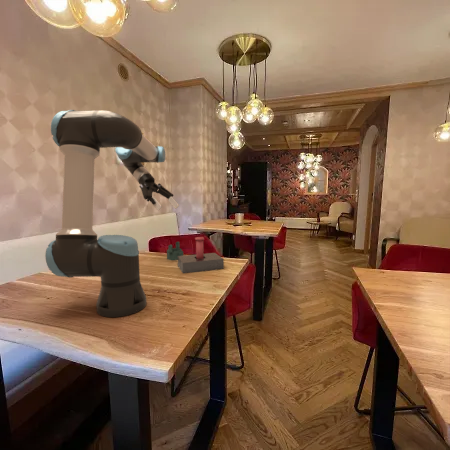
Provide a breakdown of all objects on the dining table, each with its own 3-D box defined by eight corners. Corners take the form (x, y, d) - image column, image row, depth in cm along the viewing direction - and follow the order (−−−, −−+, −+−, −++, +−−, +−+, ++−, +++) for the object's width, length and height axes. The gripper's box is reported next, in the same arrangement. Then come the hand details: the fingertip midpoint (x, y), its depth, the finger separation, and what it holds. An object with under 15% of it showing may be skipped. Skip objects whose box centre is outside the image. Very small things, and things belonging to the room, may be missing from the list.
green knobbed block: (169, 261, 141) (168, 245, 140) (165, 257, 149) (165, 242, 148) (185, 259, 145) (184, 244, 144) (180, 256, 153) (180, 241, 152)
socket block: (182, 273, 119) (182, 263, 119) (177, 265, 132) (177, 256, 132) (223, 269, 126) (223, 259, 125) (215, 261, 139) (214, 252, 138)
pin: (196, 268, 126) (196, 238, 124) (194, 266, 130) (194, 237, 129) (205, 268, 128) (205, 238, 126) (203, 265, 132) (202, 236, 130)
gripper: (156, 184, 145) (179, 211, 141) (121, 182, 123) (147, 215, 118) (163, 174, 142) (187, 201, 138) (129, 170, 120) (156, 203, 115)
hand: (169, 207), depth 128 cm, fingers open, 13 cm apart
